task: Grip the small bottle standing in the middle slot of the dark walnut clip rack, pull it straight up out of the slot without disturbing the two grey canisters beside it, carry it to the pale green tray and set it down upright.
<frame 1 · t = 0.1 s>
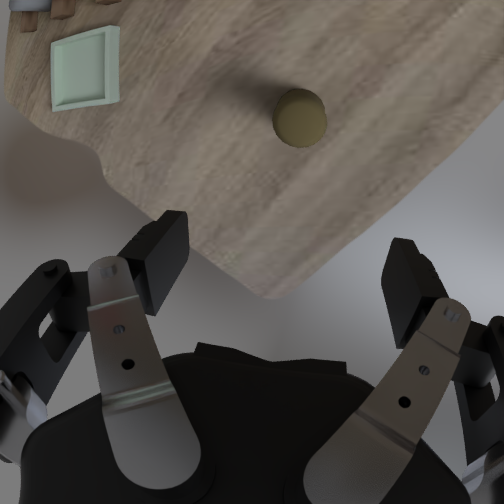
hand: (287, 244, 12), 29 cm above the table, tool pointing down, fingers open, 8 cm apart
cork: (300, 111, 35), on the table
tray: (87, 69, 35), on the table
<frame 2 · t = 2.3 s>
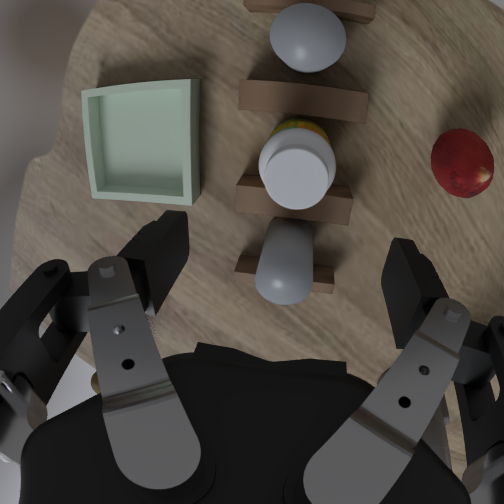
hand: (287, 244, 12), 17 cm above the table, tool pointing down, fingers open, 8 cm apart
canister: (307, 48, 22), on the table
supplement bottle: (299, 145, 27), on the table
clip rack: (299, 146, 26), on the table
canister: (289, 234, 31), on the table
onion: (444, 151, 24), on the table
tray: (144, 138, 28), on the table
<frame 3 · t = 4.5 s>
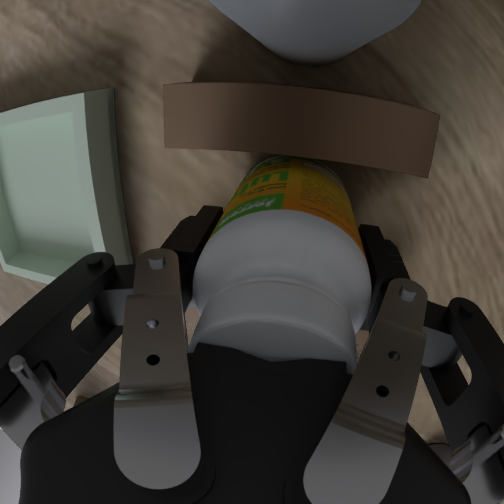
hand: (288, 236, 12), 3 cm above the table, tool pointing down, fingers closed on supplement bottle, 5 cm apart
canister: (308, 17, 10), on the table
supplement bottle: (292, 204, 15), on the table, touching gripper
clip rack: (292, 206, 15), on the table
tray: (50, 189, 16), on the table
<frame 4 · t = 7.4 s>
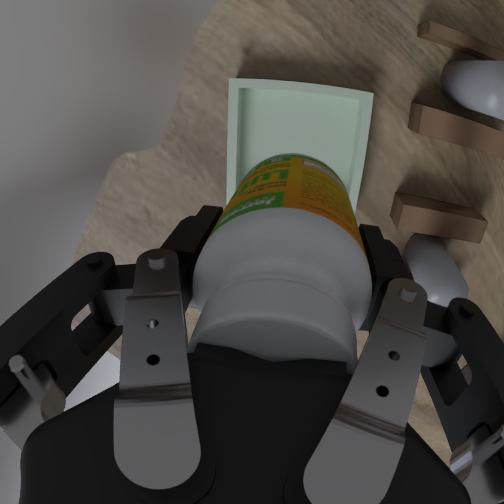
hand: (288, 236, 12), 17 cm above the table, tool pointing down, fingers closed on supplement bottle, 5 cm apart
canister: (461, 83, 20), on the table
supplement bottle: (293, 203, 15), point 14 cm above the table, touching gripper
clip rack: (446, 170, 25), on the table
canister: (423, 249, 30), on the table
tray: (297, 144, 27), on the table
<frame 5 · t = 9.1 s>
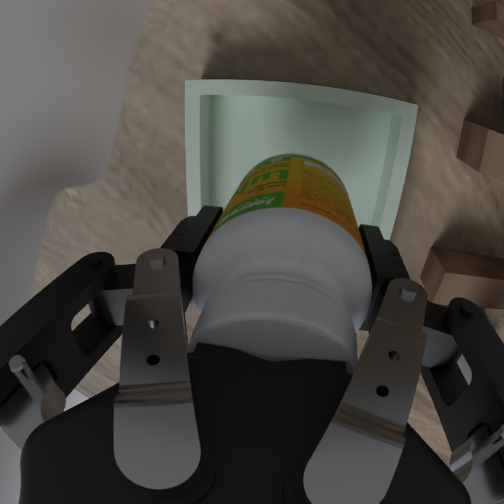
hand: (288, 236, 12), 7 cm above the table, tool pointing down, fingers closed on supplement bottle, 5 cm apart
supplement bottle: (293, 203, 15), point 4 cm above the table, touching gripper
clip rack: (498, 217, 16), on the table
tray: (294, 179, 18), on the table
when the fingers open (4 cm above the table, at t = 10.6 s): supplement bottle stays where it is, resting on tray.
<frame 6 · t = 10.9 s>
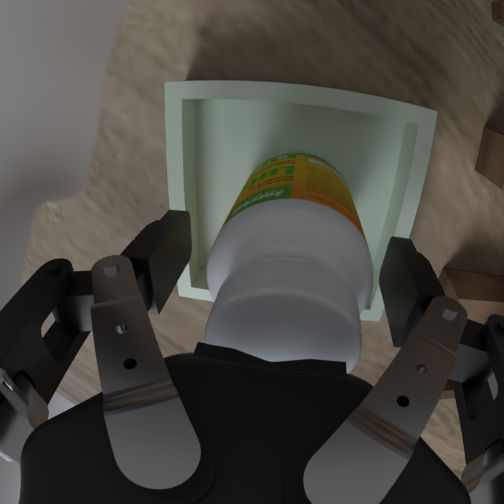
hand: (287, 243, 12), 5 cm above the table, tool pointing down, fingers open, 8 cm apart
supplement bottle: (297, 199, 16), resting on tray
tray: (293, 195, 16), on the table
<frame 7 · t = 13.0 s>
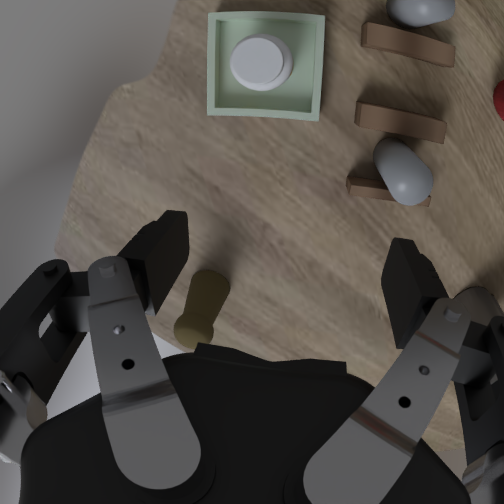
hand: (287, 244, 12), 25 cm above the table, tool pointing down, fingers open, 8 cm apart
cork: (210, 285, 47), on the table
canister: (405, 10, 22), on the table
supplement bottle: (268, 64, 28), resting on tray
clip rack: (401, 82, 27), on the table
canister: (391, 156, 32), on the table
onion: (497, 97, 25), on the table
tray: (266, 63, 29), on the table
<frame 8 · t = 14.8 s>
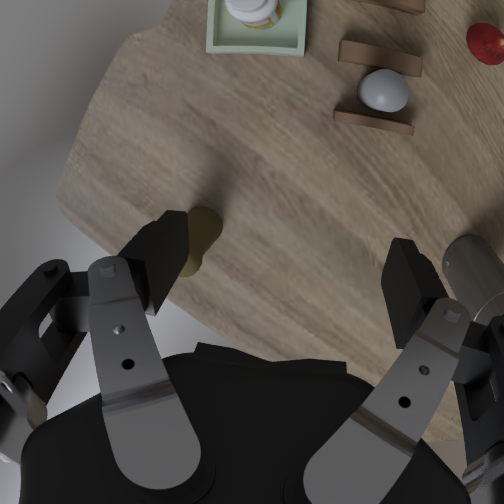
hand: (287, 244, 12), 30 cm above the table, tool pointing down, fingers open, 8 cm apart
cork: (203, 224, 47), on the table
supplement bottle: (260, 12, 29), resting on tray
clip rack: (379, 27, 28), on the table
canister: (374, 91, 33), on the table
onion: (473, 44, 25), on the table
tray: (259, 12, 30), on the table
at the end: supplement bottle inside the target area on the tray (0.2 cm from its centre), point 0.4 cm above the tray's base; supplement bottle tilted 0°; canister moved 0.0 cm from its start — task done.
